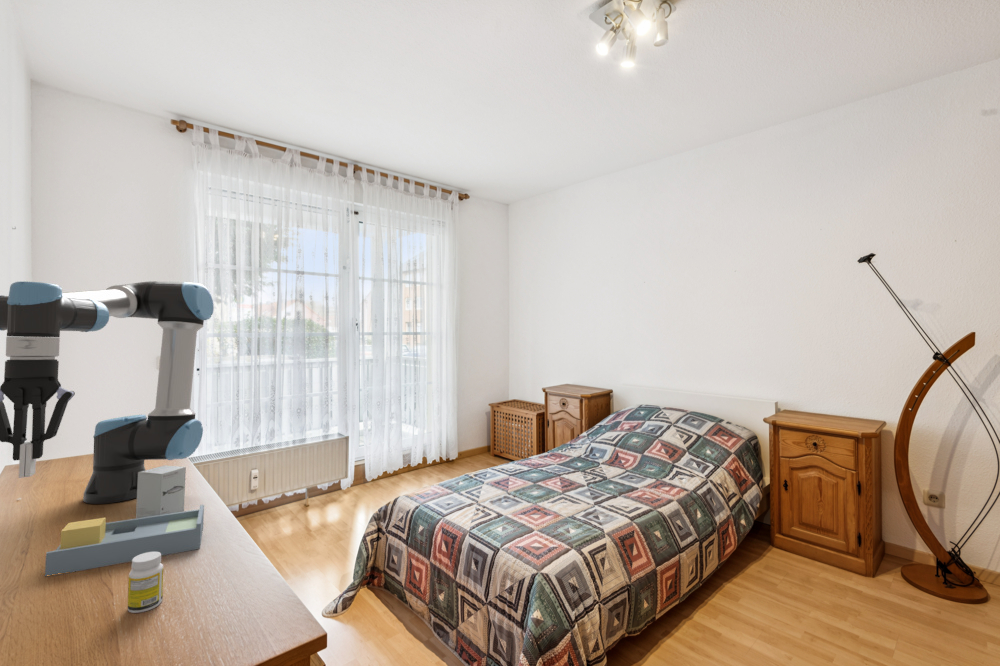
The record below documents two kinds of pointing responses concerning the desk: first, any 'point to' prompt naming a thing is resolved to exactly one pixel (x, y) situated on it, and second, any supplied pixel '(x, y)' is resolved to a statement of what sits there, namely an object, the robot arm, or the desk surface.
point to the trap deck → (132, 541)
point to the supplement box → (160, 491)
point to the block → (83, 533)
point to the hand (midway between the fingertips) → (27, 475)
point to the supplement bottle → (145, 582)
